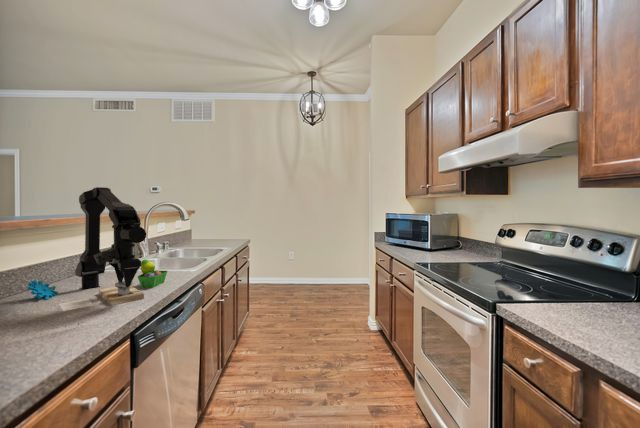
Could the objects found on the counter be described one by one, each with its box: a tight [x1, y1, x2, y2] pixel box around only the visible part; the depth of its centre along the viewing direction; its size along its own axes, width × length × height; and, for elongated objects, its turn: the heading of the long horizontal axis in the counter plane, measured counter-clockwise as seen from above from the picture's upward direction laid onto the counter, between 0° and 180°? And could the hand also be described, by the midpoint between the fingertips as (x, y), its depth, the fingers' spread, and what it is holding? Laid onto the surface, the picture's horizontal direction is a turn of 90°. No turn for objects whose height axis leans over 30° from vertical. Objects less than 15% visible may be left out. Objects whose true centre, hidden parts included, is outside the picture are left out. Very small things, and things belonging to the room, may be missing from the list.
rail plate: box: [98, 285, 145, 306], centre depth 112 cm, size 18×10×3 cm, turn 47°
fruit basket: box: [136, 259, 168, 288], centre depth 132 cm, size 11×9×11 cm
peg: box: [114, 280, 133, 297], centre depth 109 cm, size 5×5×7 cm
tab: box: [58, 298, 94, 312], centre depth 102 cm, size 10×8×1 cm
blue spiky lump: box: [27, 279, 59, 301], centre depth 110 cm, size 11×6×10 cm
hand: (123, 284), depth 109 cm, fingers open, 9 cm apart
